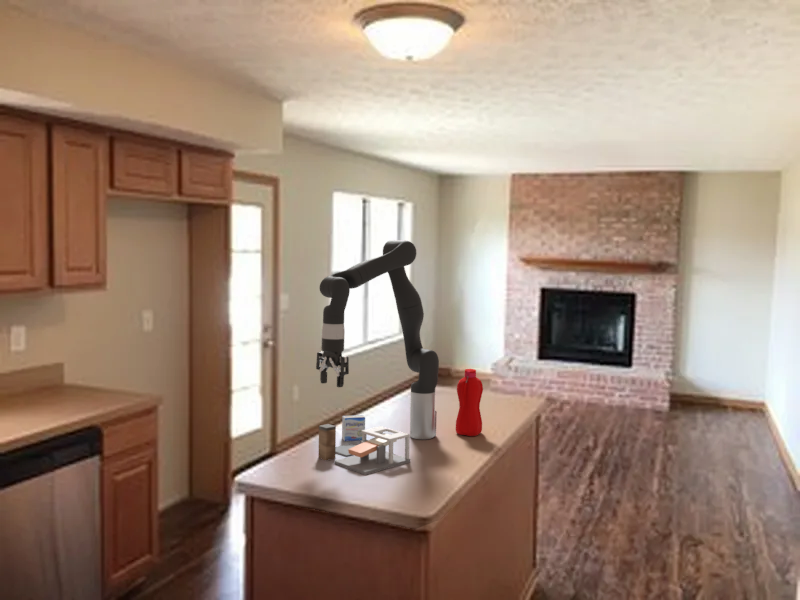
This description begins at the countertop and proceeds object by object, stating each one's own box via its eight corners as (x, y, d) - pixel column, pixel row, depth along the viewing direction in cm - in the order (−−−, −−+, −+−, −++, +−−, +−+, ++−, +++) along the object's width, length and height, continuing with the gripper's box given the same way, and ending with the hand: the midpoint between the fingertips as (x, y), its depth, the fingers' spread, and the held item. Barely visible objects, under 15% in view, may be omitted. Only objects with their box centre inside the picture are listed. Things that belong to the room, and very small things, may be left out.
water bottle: (451, 435, 271) (452, 370, 269) (462, 429, 281) (463, 366, 279) (473, 439, 267) (475, 372, 265) (484, 432, 276) (486, 368, 274)
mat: (349, 445, 256) (349, 443, 256) (368, 451, 249) (368, 449, 248) (327, 450, 249) (327, 448, 249) (346, 456, 242) (346, 455, 242)
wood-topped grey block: (327, 455, 242) (328, 423, 241) (335, 458, 239) (335, 426, 239) (318, 458, 240) (318, 425, 239) (325, 460, 237) (326, 428, 236)
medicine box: (343, 441, 260) (344, 418, 260) (341, 438, 264) (341, 415, 264) (365, 440, 262) (365, 417, 262) (362, 437, 267) (362, 414, 266)
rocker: (384, 437, 242) (384, 433, 242) (396, 441, 238) (396, 436, 238) (348, 453, 232) (348, 449, 231) (361, 457, 227) (360, 453, 227)
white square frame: (379, 452, 247) (379, 425, 247) (410, 462, 237) (410, 434, 236) (334, 463, 233) (334, 435, 233) (365, 474, 223) (365, 445, 222)
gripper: (355, 338, 235) (354, 387, 236) (328, 334, 245) (327, 380, 246) (338, 339, 230) (336, 389, 231) (311, 335, 240) (309, 383, 241)
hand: (331, 385), depth 239 cm, fingers open, 8 cm apart
